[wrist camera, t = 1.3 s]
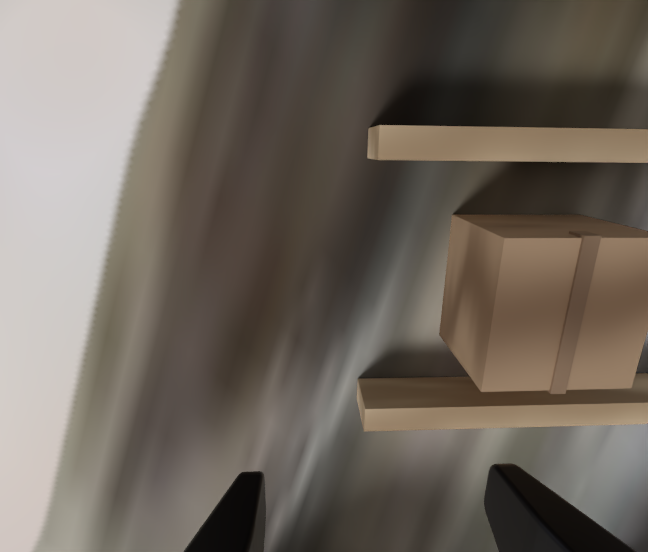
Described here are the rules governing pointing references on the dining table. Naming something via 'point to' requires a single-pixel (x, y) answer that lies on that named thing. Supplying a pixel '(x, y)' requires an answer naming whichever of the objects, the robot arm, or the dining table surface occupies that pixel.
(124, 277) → the dining table surface
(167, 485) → the dining table surface
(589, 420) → the bay
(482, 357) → the cardboard box
